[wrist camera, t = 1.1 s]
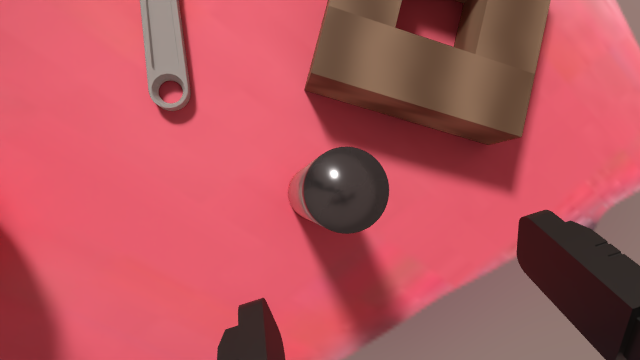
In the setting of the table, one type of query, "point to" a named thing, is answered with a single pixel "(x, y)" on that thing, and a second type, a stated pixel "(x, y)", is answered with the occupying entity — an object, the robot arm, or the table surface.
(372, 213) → the steel pin
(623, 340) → the robot arm
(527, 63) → the block
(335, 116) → the table surface
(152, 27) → the adjustable wrench
